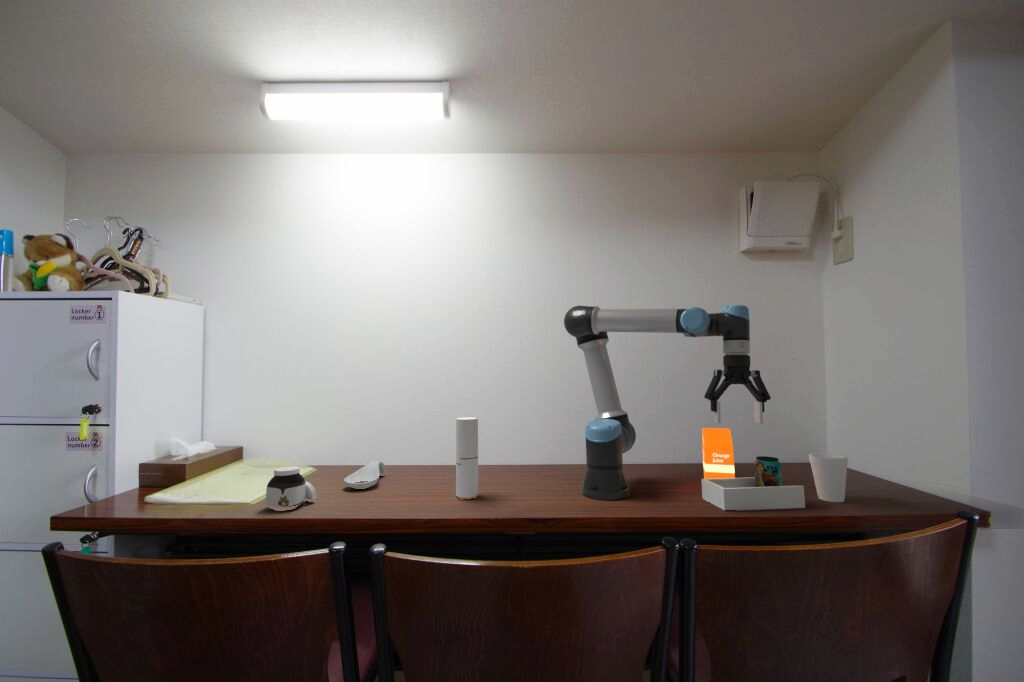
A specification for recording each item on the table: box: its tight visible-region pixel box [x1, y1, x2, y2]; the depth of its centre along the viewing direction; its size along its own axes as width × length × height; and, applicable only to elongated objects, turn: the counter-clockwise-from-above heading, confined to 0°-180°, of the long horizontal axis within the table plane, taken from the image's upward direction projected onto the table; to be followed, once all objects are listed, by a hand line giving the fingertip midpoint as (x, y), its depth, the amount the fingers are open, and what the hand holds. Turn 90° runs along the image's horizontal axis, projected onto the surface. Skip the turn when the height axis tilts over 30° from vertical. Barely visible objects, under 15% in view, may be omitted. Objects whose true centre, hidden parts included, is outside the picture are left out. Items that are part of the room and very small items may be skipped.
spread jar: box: [265, 465, 317, 507], centre depth 128 cm, size 12×11×12 cm
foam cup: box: [808, 452, 849, 503], centre depth 128 cm, size 10×9×13 cm
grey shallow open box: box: [700, 476, 806, 511], centre depth 125 cm, size 24×12×6 cm, turn 94°
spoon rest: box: [343, 460, 388, 488], centre depth 154 cm, size 24×12×7 cm, turn 176°
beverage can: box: [753, 455, 784, 487], centre depth 126 cm, size 7×7×12 cm
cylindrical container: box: [455, 417, 479, 497], centre depth 136 cm, size 7×7×25 cm
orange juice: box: [701, 427, 736, 479], centre depth 142 cm, size 8×9×20 cm
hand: (737, 422), depth 130 cm, fingers open, 13 cm apart
